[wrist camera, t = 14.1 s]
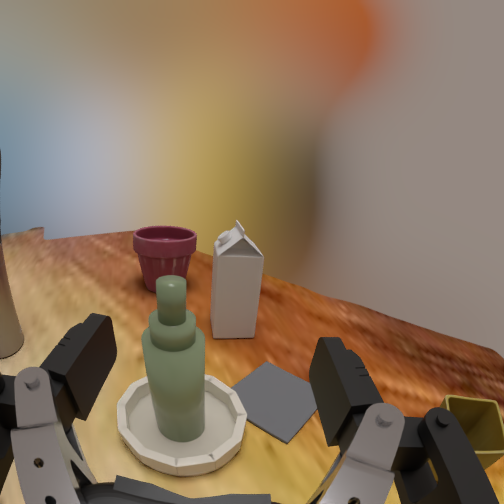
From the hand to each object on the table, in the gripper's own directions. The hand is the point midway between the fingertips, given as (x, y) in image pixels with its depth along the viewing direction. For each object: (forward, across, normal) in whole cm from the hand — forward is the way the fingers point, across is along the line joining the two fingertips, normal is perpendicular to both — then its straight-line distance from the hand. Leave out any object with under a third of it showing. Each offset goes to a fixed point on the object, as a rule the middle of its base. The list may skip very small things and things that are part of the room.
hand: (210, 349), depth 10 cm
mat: (+17, -8, +22) cm, 29 cm away
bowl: (+11, +4, +22) cm, 25 cm away
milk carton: (+34, -2, +22) cm, 41 cm away
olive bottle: (+11, +4, +21) cm, 24 cm away
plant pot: (+49, +14, +23) cm, 56 cm away
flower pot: (0, -27, +22) cm, 34 cm away
